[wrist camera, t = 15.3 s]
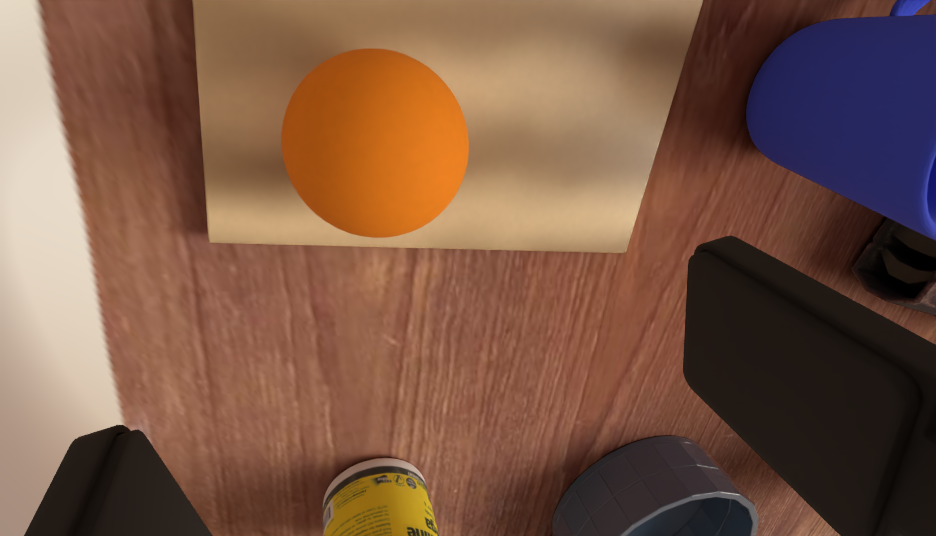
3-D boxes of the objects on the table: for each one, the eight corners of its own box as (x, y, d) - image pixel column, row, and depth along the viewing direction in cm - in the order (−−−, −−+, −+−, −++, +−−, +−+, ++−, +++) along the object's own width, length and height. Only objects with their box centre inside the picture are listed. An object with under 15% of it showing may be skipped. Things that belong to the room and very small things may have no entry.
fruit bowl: (558, 582, 42) (586, 648, 38) (544, 473, 35) (576, 539, 31) (704, 524, 44) (747, 581, 40) (717, 411, 38) (770, 466, 33)
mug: (942, 9, 27) (1237, 17, 18) (774, 197, 30) (963, 280, 21) (882, -118, 23) (1220, -180, 15) (693, 113, 26) (886, 173, 17)
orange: (300, 237, 21) (340, 288, 16) (242, 73, 19) (267, 67, 13) (440, 191, 24) (516, 221, 18) (406, 38, 21) (483, 21, 16)
